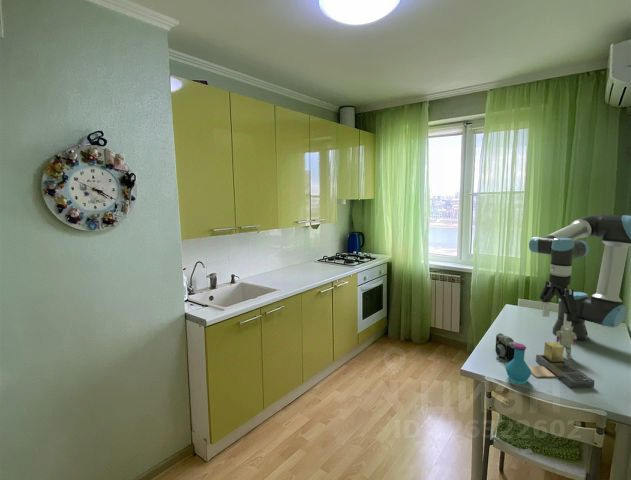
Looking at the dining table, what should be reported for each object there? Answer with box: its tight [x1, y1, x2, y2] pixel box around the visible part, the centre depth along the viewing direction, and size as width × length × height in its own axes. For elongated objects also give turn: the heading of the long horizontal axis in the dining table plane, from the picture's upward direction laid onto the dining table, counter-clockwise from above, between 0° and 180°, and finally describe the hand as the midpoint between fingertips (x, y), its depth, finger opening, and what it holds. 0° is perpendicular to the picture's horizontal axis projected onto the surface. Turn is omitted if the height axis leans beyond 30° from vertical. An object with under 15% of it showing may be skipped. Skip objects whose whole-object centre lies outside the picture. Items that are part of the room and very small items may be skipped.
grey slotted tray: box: [535, 354, 595, 389], centre depth 147 cm, size 9×22×3 cm, turn 0°
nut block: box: [543, 341, 565, 363], centre depth 153 cm, size 5×5×10 cm
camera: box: [494, 332, 517, 363], centre depth 162 cm, size 15×7×10 cm, turn 3°
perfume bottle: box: [505, 342, 532, 385], centre depth 142 cm, size 9×9×15 cm
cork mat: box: [528, 365, 557, 379], centre depth 148 cm, size 8×8×1 cm
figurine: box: [555, 326, 578, 359], centre depth 160 cm, size 8×8×15 cm
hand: (555, 322), depth 151 cm, fingers open, 13 cm apart
